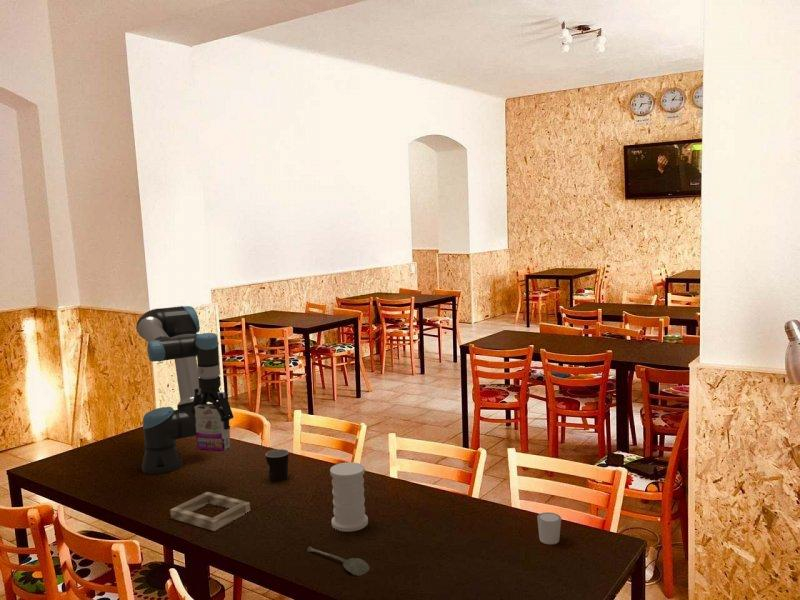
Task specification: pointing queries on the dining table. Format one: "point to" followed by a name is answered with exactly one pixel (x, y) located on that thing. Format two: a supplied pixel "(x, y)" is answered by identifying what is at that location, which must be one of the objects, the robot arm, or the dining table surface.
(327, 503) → the dining table surface
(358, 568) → the soupspoon
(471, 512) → the dining table surface
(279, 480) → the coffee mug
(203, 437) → the candy bar box
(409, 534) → the dining table surface
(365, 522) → the decorative container
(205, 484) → the dining table surface
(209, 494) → the grey rectangular frame
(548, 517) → the shot glass
